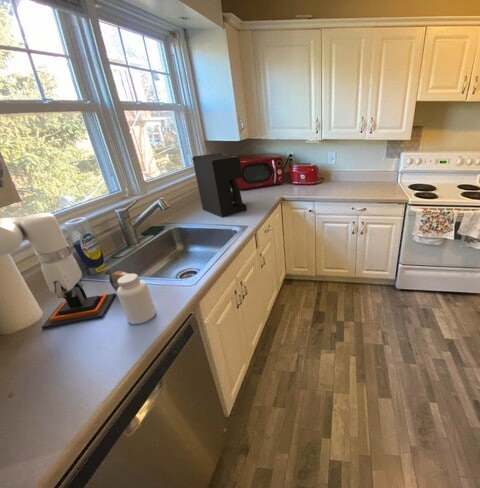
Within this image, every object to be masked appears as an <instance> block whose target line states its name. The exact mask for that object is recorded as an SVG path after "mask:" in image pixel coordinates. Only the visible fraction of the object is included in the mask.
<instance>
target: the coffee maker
mask: <svg viewBox="0 0 480 488" xmlns="http://www.w3.org/2000/svg"><path fill="white" fill-rule="evenodd" d="M191 160H192V164H193V168H194V174H195V177H196V178H195V179H196V183H197V188H198V192H199V198H200V202H201V206H202V210H203V211H205V212H207V213H210V214H213V215H215V216H218V217H220V218H225V217H228V216H232V215H235V214H238V213H242V212H246V211H247V209H248V208H247V204H246V203H243V198H242V194H241V190H240V187H239V185H238V182H237V180H239V179H242V177H243V171H242V164H241V158H240V157H239V156H235V155H233V154H224V153H210V154H203V155H202V154H201V155H194V156H192V157H191Z"/></svg>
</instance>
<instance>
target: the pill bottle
mask: <svg viewBox="0 0 480 488" xmlns="http://www.w3.org/2000/svg"><path fill="white" fill-rule="evenodd" d="M139 279H140V277H139V275H138V274H136V273H129V274H127V275H124V276H122V277H120V278H119V279H118V281H117V282H118V285H119V286H120V287H119V288H118V290H117V291H116V297H117V298H118V301H119V303H120V305H121V307H122V310H123V312H124V316H125V317H126V320H127V322H128V323H129V324H132V325H140V324H144V323H146V322H148V321H150V320H151V319H153V318H154V316H155V315H156V312H157V311H156V308H155V304H154V302H153V298H152V295H151V293H150V290H149V288H148V285H147V283H146V282H145V280H141V279H140V280H139Z"/></svg>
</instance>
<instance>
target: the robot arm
mask: <svg viewBox="0 0 480 488" xmlns="http://www.w3.org/2000/svg"><path fill="white" fill-rule="evenodd" d="M24 241H28V242H29V244H30V246H31V248H32V249H33V252H34V254H35V256H36V258H37V259H38V261H39V263H40V269H41V271H42V275H43V277H44V280H45V282H46V285H47V286H48V289H49V291H50V293H52V294H56V297H57V298H58V299H60V298H63V299H64V300H65V301H67V303H68V305H69V307H70V308H72V307H78V306H81V305H82V303H81V301H80V299H79V297H78V295H76V294H75V292H74V289H73V287H79V289H80V291H81V293H82V295H83V297H84V299H86V298H87V297H88V296H87V293H86V292H85V290H84V288H83V287H84V286H83V283H82V280H81V279H82V277H83V273H82V270H81V268H80V266H79V264H78V262H77V260H76V259H75V257H74V255H73V252H72V250H71V248H70V246H69V243H68V241H67V239H66V237H65V234H64V232H63V230H62V228H61V226H60V224H59V222H58V219H57V217H56V216H55V215H54V214H52V213H50V212H39V213H33V214H29V215H25V216H12V217H0V256H5V255H10V254H13V253H14V252H16V251H17V250H19V248H20V247H21V246H22V244H23V242H24ZM66 291H70V293H69V292H66Z"/></svg>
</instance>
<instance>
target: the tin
mask: <svg viewBox="0 0 480 488" xmlns="http://www.w3.org/2000/svg"><path fill="white" fill-rule="evenodd" d="M127 274H130V273H129V272H125V271H123V270H117V271H115V272H112V273H110V274H109V275H108V277H109V278H108V279H109V283H110V286H111V287H112V288H113V289H114V291H115V292H117V290H118V288H119V287H120V286H119V285H118V282H117V281H118V279H119V278H120V277H122V276H124V275H127ZM139 280H141V279H140V278H139Z"/></svg>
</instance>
